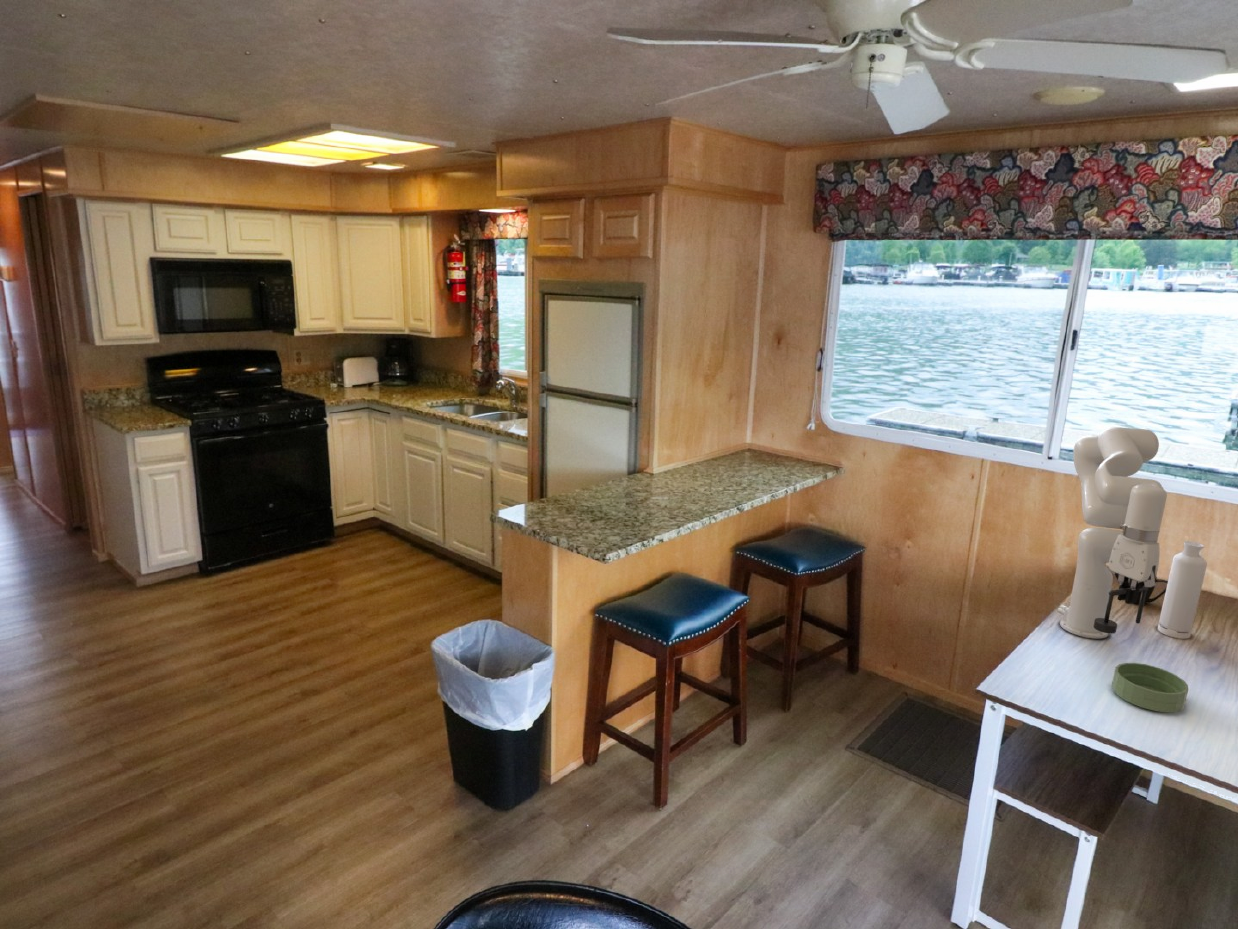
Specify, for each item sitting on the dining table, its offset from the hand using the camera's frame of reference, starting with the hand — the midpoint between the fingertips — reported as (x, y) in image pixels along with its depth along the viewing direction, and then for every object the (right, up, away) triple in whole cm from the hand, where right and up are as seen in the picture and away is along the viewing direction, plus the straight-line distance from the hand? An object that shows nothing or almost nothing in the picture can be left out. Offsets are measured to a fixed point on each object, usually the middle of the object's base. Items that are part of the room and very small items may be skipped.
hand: (1126, 600), depth 202 cm
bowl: (+1, -23, -6) cm, 24 cm away
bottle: (+34, -15, +31) cm, 49 cm away
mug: (+39, -10, +52) cm, 66 cm away
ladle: (-1, -7, +1) cm, 7 cm away
